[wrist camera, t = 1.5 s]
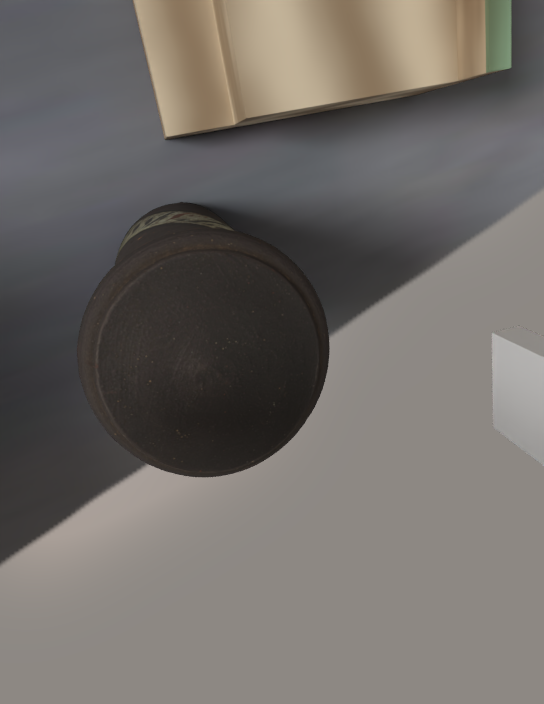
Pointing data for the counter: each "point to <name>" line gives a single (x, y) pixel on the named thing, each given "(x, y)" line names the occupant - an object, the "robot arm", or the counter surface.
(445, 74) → the stand
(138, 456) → the container
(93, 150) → the counter surface
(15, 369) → the counter surface
